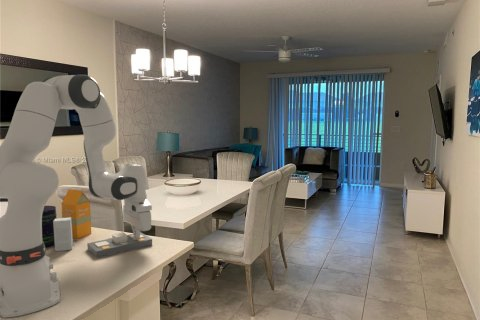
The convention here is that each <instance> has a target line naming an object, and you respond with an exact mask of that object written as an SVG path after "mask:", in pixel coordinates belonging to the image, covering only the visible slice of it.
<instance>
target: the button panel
mask: <svg viewBox="0 0 480 320" xmlns="http://www.w3.org/2000/svg"><path fill="white" fill-rule="evenodd" d="M140 234H141V235H142V236H144V238H141V239H136V240H132V239H131V238H129V236H132V235H133V233H131V234H126V235H127V242H122V243H118V244H115V243H114V242H113V241H112V237H111V238H107V239H102V240H96V241H92V242H87V250H88V252H89V253H91V254H92V255H93V256H94V257H95V259H99V258H102V257H107V256H110V255H115V254H119V253H124V252H128V251H133V250H136V249H140V248H145V247H149V246H152V245H153V239H152V238H151V237H150V236H149V235H146V234H145V233H143V232H142V231H141V232H140ZM103 241H106V242H108V243H109V244H110V245H109V246H104V247H99V248H97V247H96V246H95V245H94V243H98V242H103Z"/></svg>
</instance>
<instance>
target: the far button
mask: <svg viewBox="0 0 480 320" xmlns="http://www.w3.org/2000/svg"><path fill="white" fill-rule="evenodd" d="M129 238H131V239H132V240H136V239H141V238H144V236H142V235H141V234H140V237H136V236H134V235H132V236H129Z"/></svg>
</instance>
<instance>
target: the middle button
mask: <svg viewBox="0 0 480 320" xmlns="http://www.w3.org/2000/svg"><path fill="white" fill-rule="evenodd" d="M111 235H112V236H111V238H112V241H113V242H114V243H115V244H118V243H122V242H127V235H128V234H126V233H125V232H124V231H123V232H117V233H114V234H113V233H112V234H111Z"/></svg>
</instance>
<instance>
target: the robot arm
mask: <svg viewBox="0 0 480 320" xmlns="http://www.w3.org/2000/svg"><path fill="white" fill-rule="evenodd" d="M60 110H75V112H76V113H78V118H79V122H80V125H81V128H82V132H83V133H82V134H83V138H84V139H83V151H84V156H85V160H86V166H87V170H88V171H87V172H88V190H89V192H90V193H91V195H92V196H94V197H96V198H101V199H109V200H115V201H124V202H123V203H124V204H123V206H122V209H123V210H122V218H123V221H124V222H126V223H127V224H129V225H131V230H132V234H133V235H134V236H136V237H140V232H141V233H142V232H147V231H150V230H151V229H152V212H151V211H152V210H153V209H152V208H153V206H152V204H151V203H150V202H149V200H148V199H147V198H148V197H147V191H146V188H147V176H146V174H147V173H146V170H145V167H144V166H143V165H140V164H133V163H126V164H125V165H124V167H122V169H121V170H119V171H117V173H115V174H114V173H110V172H108V170H107V169H106V166H105V161H104V155H103V150H104V147H106V146H107V145H109V144H111V142H112V141H113V140H114V139H115V137H116V135H117V130H116V124H115V121H114V117H113V113H112V111H111V107H110V105H109V103H108V101H107V99H106V97H105V95H104V94H103V93H102V92H101V89H100V87H99V85H98V82H97V81H96V79H94V78H93V77H92V76H89V75H87V74H70V75H69V74H66V75H65V74H63V75H57V76H54V77H47V78H45V79H44V80H42V81H33V82H31V83H29V84H27V85H26V87H25V88H24V90H23V91H22V93H21V95H20V97H19V100H18V102H17V104H16V107H15V109H14V112H13V116H12V119H11V122H10V124H9V127H8V131H7V133H6V136H5V137H4V139H3V141H2V143H1V144H0V199H1V198H2V199H7V207H6V210H5V211H6V212H5V213H4V214H3V215H2V216H1V217H0V317H2V318H3V319H4V318H15V317H19V316H20V317H21V316H24V315H29V314H32V313H35V312H39V311H42V310H44V309H48V308H50V307H52V306H54V305H56V304H59V302H61V290H60V279H59V278H58V277H57V271H54V272H51V270H53V269H54V264H53V263H52V264H51V261H50V259H51V258H50V256H48V255H46V248H45V245H44V241H42V214H43V210H44V207H45V206H46V203H47V202H48V200H49V199H50V198H51V197H52V196H54V195H55V193H56V191H57V190H58V187H59V183H60V182H59V175H58V173H57V171H56V170H55V169H54V168H53V167H51V166H49V165H46V164H43V163H40V162H36V161H34V160H35V159H36V158H37V156H38V155H40V153H42V152H44V151H45V150H46V149H48V147H49V146H50V143H51V139H52V136H53V132H54V129H55V126H56V121H57V119H58V118H57V117H58V113H59V111H60Z"/></svg>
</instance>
